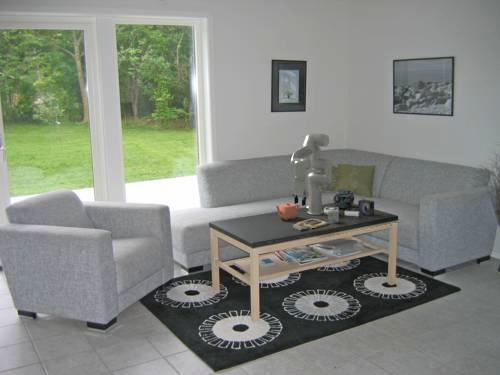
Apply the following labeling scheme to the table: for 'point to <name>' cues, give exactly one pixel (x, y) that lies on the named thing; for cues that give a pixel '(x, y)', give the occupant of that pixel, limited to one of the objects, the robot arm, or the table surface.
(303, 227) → the button housing
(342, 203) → the decorative stone
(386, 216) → the table surface
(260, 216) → the table surface
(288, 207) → the teapot
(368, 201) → the small box
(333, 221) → the metal billet
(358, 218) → the table surface
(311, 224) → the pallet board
